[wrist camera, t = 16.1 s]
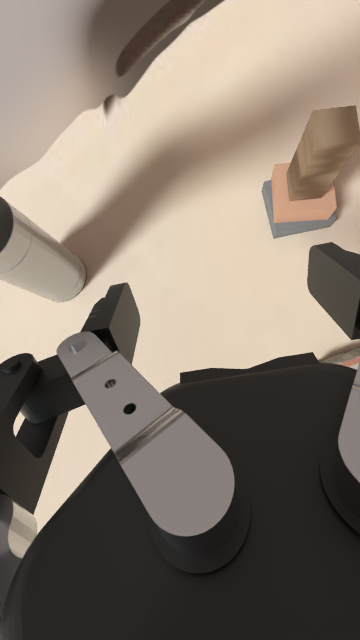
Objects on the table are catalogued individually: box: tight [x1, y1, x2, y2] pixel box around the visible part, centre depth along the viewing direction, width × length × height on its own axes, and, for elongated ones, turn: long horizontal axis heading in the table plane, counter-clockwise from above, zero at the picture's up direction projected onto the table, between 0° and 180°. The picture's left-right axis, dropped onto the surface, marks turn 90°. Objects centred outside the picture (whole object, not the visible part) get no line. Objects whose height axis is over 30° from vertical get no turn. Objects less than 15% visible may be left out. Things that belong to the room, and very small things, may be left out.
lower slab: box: [262, 180, 336, 239], centre depth 43 cm, size 9×9×3 cm
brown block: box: [286, 106, 360, 201], centre depth 33 cm, size 4×4×10 cm
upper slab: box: [271, 163, 337, 223], centre depth 40 cm, size 8×8×3 cm
